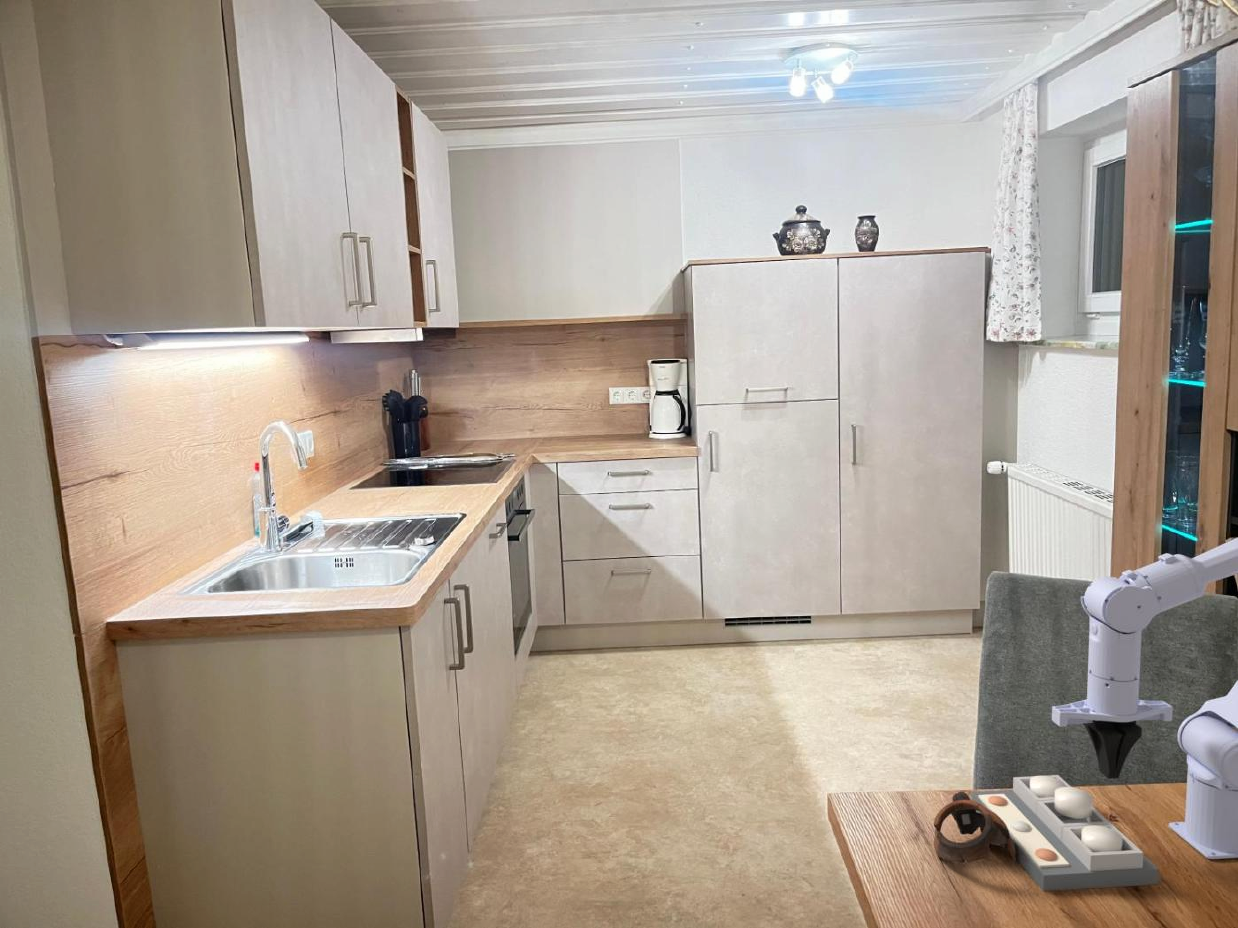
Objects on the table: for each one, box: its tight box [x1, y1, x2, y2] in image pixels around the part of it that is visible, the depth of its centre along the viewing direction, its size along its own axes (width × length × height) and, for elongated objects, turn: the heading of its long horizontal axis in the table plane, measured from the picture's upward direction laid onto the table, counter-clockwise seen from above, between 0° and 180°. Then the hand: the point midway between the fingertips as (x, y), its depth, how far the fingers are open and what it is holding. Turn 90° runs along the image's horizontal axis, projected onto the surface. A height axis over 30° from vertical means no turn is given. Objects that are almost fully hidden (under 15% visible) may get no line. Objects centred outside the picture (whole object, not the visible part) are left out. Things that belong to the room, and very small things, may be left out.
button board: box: [970, 774, 1160, 892], centre depth 116 cm, size 14×20×4 cm
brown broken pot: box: [933, 791, 1017, 864], centre depth 115 cm, size 12×10×8 cm
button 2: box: [1081, 825, 1122, 852], centre depth 110 cm, size 4×4×2 cm
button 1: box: [1030, 775, 1065, 798], centre depth 123 cm, size 4×4×2 cm
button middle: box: [1054, 786, 1094, 819], centre depth 116 cm, size 4×4×2 cm
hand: (1109, 774), depth 115 cm, fingers closed
